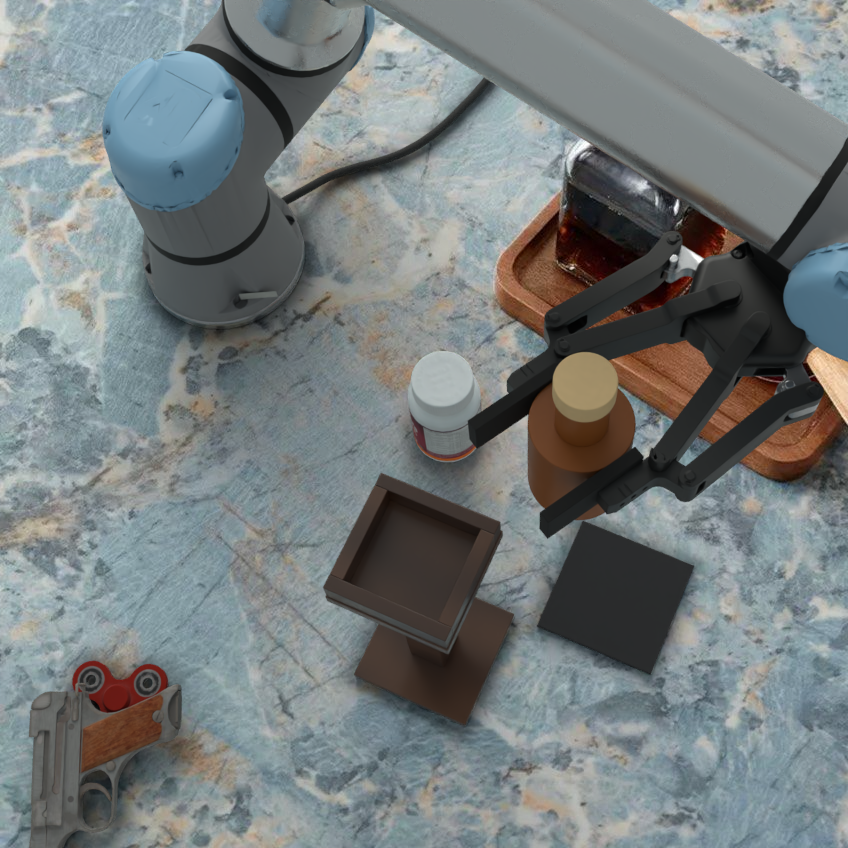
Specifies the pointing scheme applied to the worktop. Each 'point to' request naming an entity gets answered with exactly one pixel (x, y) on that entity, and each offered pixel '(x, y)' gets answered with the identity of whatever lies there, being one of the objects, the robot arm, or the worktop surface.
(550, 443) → the bottle
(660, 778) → the worktop surface
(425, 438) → the pill bottle
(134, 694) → the fidget spinner
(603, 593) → the mat
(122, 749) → the pistol
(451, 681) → the holder
